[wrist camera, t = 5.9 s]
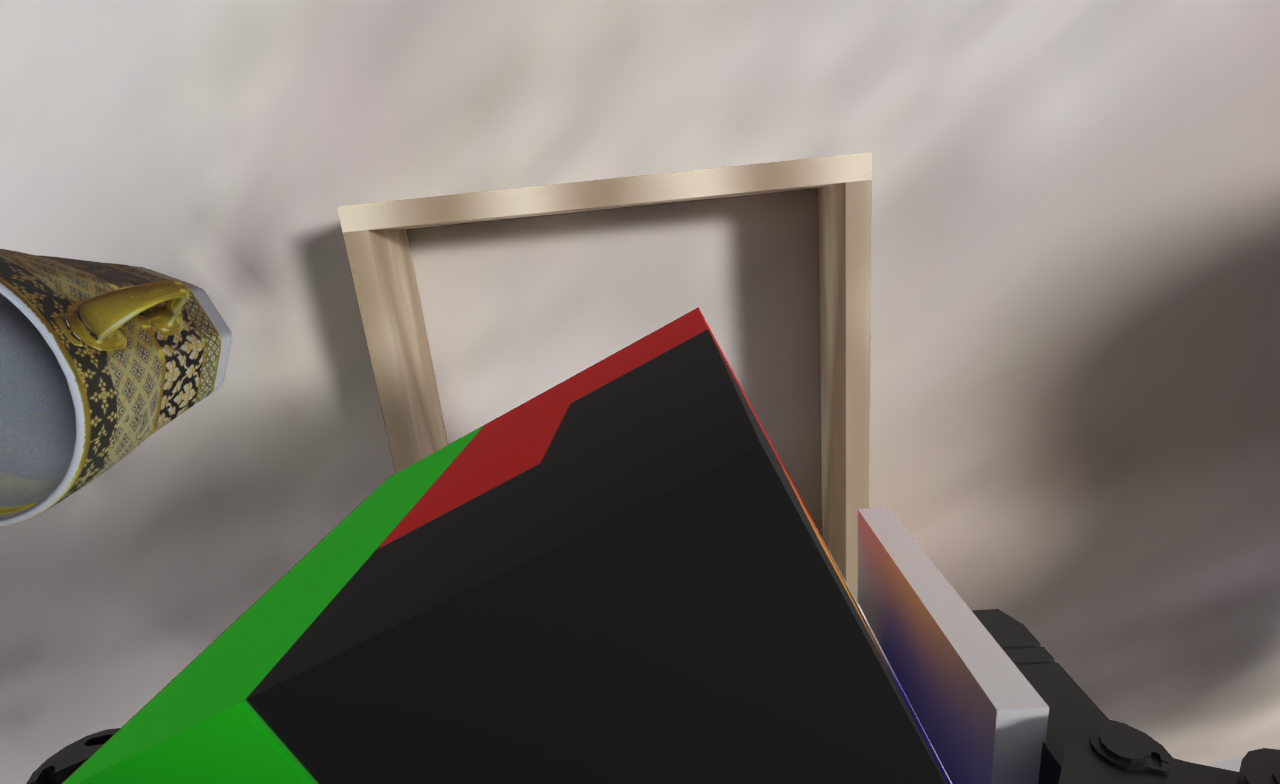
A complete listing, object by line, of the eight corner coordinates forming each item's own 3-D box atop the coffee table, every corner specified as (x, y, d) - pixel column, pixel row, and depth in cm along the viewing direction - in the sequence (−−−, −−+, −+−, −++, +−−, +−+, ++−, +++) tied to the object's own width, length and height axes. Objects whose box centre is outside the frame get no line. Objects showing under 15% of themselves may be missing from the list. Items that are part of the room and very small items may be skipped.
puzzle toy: (856, 601, 18) (1088, 1049, 8) (569, 728, 19) (479, 1227, 10) (698, 307, 16) (759, 442, 6) (388, 477, 17) (43, 800, 8)
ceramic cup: (146, 462, 31) (-77, 569, 22) (19, 287, 29) (-295, 319, 19) (357, 362, 30) (216, 430, 20) (240, 168, 27) (17, 138, 18)
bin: (840, 162, 27) (871, 152, 23) (841, 574, 32) (867, 621, 29) (380, 208, 28) (336, 206, 24) (460, 602, 33) (435, 651, 29)
